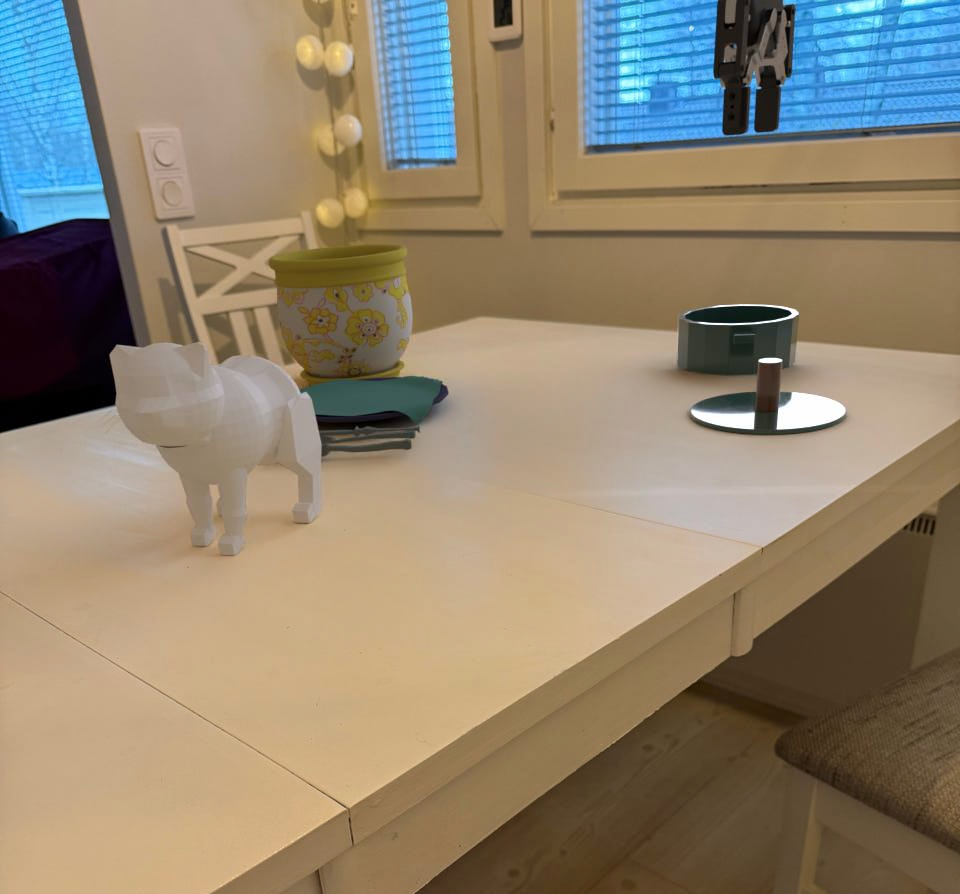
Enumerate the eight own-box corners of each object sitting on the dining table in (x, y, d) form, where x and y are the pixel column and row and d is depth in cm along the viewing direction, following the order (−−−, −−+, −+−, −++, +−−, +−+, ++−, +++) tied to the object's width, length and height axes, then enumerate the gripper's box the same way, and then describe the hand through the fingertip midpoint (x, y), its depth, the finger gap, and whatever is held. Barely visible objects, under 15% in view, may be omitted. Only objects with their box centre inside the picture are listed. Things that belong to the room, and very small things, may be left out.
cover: (830, 399, 105) (836, 342, 102) (858, 438, 91) (866, 374, 89) (686, 403, 108) (688, 348, 105) (693, 442, 94) (696, 380, 91)
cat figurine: (263, 478, 93) (231, 299, 85) (362, 481, 90) (338, 296, 82) (108, 583, 72) (47, 358, 64) (231, 592, 69) (182, 357, 61)
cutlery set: (457, 388, 122) (455, 370, 121) (430, 457, 95) (428, 434, 94) (306, 396, 123) (303, 378, 122) (238, 466, 97) (234, 443, 96)
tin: (782, 348, 130) (786, 299, 127) (804, 382, 112) (810, 325, 109) (674, 353, 132) (675, 304, 129) (679, 386, 115) (681, 331, 112)
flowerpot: (330, 402, 119) (310, 263, 112) (265, 383, 132) (244, 257, 125) (444, 375, 129) (434, 246, 121) (373, 360, 142) (360, 242, 134)
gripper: (780, -101, 74) (765, 133, 82) (831, -78, 84) (813, 128, 92) (689, -83, 78) (683, 139, 85) (748, -63, 88) (738, 133, 96)
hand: (751, 133), depth 89 cm, fingers open, 8 cm apart
